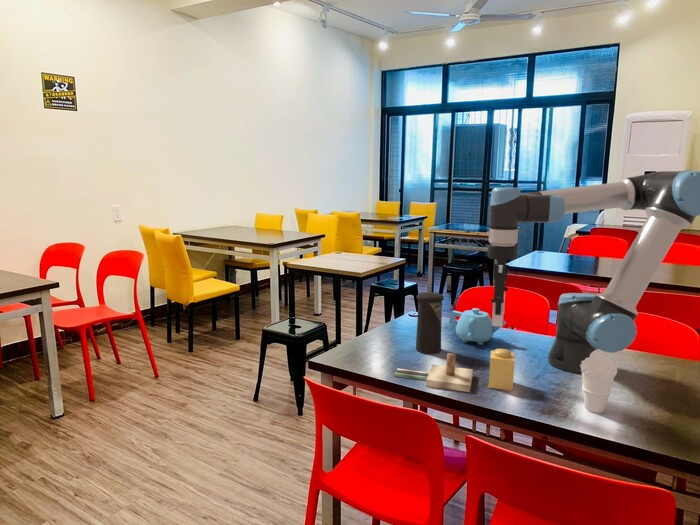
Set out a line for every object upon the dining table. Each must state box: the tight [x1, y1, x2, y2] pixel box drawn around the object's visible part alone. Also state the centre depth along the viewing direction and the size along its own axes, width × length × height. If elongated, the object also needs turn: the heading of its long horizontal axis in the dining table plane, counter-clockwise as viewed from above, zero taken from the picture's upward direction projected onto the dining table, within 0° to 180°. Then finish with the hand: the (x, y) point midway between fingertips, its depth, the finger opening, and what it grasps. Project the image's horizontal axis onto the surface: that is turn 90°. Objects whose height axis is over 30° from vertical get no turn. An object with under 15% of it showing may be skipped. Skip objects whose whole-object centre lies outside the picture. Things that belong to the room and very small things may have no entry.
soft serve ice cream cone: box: [580, 349, 618, 414], centre depth 122 cm, size 8×8×16 cm
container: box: [415, 291, 445, 355], centre depth 164 cm, size 9×9×20 cm
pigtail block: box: [393, 352, 474, 393], centre depth 141 cm, size 22×12×8 cm, turn 72°
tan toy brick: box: [488, 348, 516, 392], centre depth 137 cm, size 6×6×10 cm
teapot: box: [448, 307, 507, 346], centre depth 175 cm, size 20×17×12 cm
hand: (498, 319), depth 136 cm, fingers open, 13 cm apart
